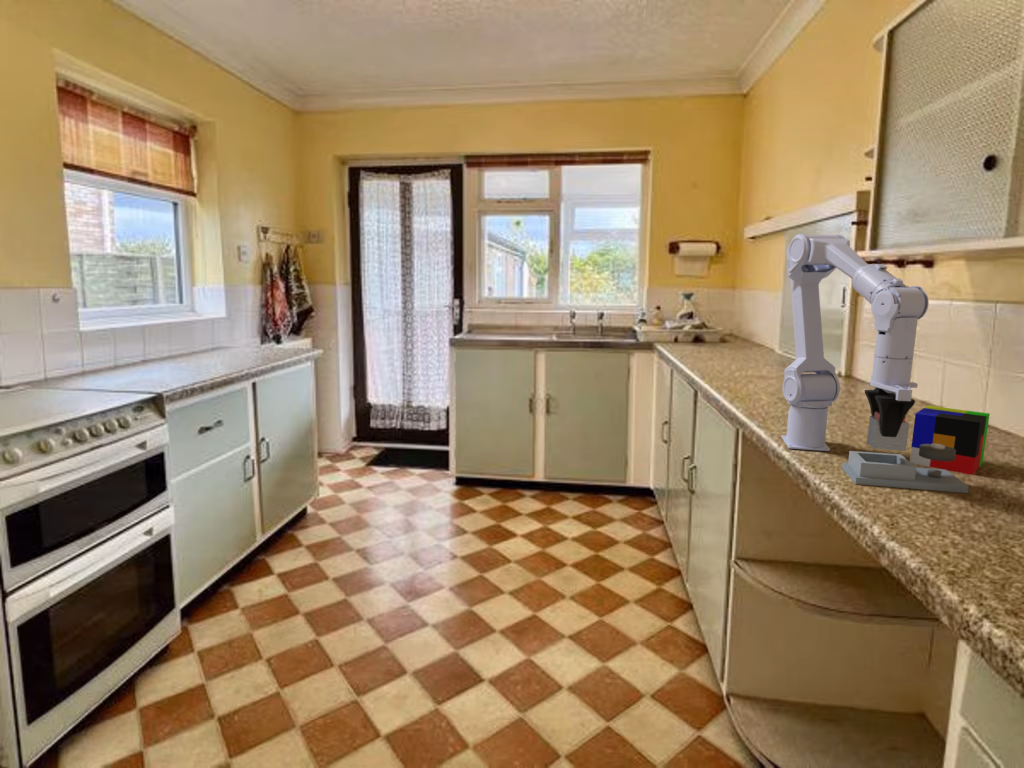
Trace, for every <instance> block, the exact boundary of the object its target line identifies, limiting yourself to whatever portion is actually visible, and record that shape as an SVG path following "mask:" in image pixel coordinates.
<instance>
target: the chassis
mask: <svg viewBox="0 0 1024 768" xmlns="http://www.w3.org/2000/svg"><path fill="white" fill-rule="evenodd" d="M841 469H842V470H843V472H844V473H845V474H846V475H847V476H848V477H849V478H850V479H851V481H852V482H853V483H854V484H855V485H863V486H874V487H887V488H899V489H900V488H901V489H912V490H924V491H925V490H927V491H936V492H937V491H938V492H950V493H963V494H969V488H970V486H969V485H968V484H966V483H965V482H963V481H962V480H961V479H959V478H958V477H956V476H955V475H954V474H953V473H951V471H950V472H949V470H944V469H938V468H927V467H926V468H925V467H917V466H916V464H912V463H911V462H910V460H909V459H907V458H906V457H905V456H903V454H900V453H898V454H897V453H888V452H887V453H885V452H873V451H854V450H849V452H848V461H847V462H844V461H843V462H842V464H841Z"/></svg>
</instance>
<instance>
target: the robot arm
mask: <svg viewBox="0 0 1024 768" xmlns="http://www.w3.org/2000/svg"><path fill="white" fill-rule="evenodd" d="M786 264H787V265H786V267H787V277H788V278H789V279H790V292H791V293H790V294H791V295H790V296H791V305H792V306H791V307H792V309H791V311H792V321H793V336H794V350H795V360H794V361H793V362H792V363H791V364H789V365H788V366H787V367H785V369H784V370H783V371H784V374H783V375H784V376H783V377H784V379H783V382H782V394H783V397H784V398H785V400H786V401H787V402H786V403H787V404H789V405H790V407H789V409H788V413H787V423H786V435H784V434H783V435H781V438H782V440H783V442H784V443H785V444H786V446H787V448H788V449H792V450H793V449H795V450H806V451H818V452H819V451H821V452H830V451H831V448H830V447H829V446H828V444H827V443H826V436H827V425H828V424H827V423H828V414H829V407H832V406H833V403H834V402H835V401H837V399H838V397H839V395H840V391H841V385H840V381H839V379H838V376H837V373H836V367H835V366H834V365H833V364H832V363H831V362H830V361H829V360H827V359H826V358H825V356H824V353H825V352H824V342H823V328H822V315H821V312H822V311H821V303H820V302H821V301H820V300H821V299H820V289H819V287H820V286H819V285H820V283H821V282H822V280H824V279H826V278H828V277H829V276H830V275H831V274H832V273H833V272H834V271H835V270H836V269H838V270H839V271H841V273H843V274H844V275H846V276H847V277H849V278H850V279H851V281H852V282H851V286H852V288H853V290H854V291H855V292H856V293H858V294H859V295H860V296H861V297H863V298H864V299H865V300H866V301H867V302H868V303H869V304H870V305H871V306H870V309H871V314H872V316H873V319H874V324H873V327H874V328H875V330H876V337H875V345H874V346H875V347H874V356H873V363H872V364H873V365H872V372H871V373H872V374H871V376H870V379H869V385H870V386H871V387H874V388H873V389H864V394H865V396H866V399H867V400H868V401H867V402H868V404H869V407H870V413H871V415H870V416H874V415H875V411H877V412H880V422H881V434H882V436H884V437H896V436H897V434H898V432H899V429H900V427H901V424H902V422H903V420H904V418H905V416H906V415H908V413H909V411H910V410H911V409H912V408H913V407H914V405H915V404H916V400H915V399H914V398H912V397H913V396H912V395H913V389H914V388H918V383H917V382H914V381H911V378H912V369H913V361H914V353H915V346H916V345H915V343H916V335H917V327H918V320H920V319H922V318H923V317H924V316H925V315H926V313H927V312H928V308H929V305H930V304H929V303H930V302H929V296H928V295H927V293H926V291H925V290H924V289H923V287H922V286H919V285H915V286H914V285H911V286H909V285H906V284H905V283H904V281H903V279H901V278H898V277H896V276H894V275H893V274H892V273H890V272H889V271H888V270H887V269H888V266H886V265H885V264H883V263H871V264H870V263H869V264H868V263H867V261H865V260H864V259H863V258H862V257H861V256H860V255H859V254H858V253H857V252H856V251H855V250H854V249H853V248H852V247H851V241H850V239H847V238H846V237H845V236H844V235H842V234H832V235H831V234H827V235H826V234H802V233H798V234H796V235H795V236H793V238H792V239H791V241H790V243H789V245H788V247H787V249H786ZM912 388H913V389H912ZM906 417H907V416H906Z"/></svg>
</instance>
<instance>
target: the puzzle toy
mask: <svg viewBox="0 0 1024 768" xmlns="http://www.w3.org/2000/svg"><path fill="white" fill-rule="evenodd" d="M989 420H990V413H989V412H988V413H987V412H981V411H973V410H964V409H957V408H950V407H944V406H943V407H942V406H934V405H927V406H925V407H924V408H921V409H920V410H919V411H917V412H916V413H914V422H913V423H914V424H913V430H912V431H913V432H912V438H911V439H912V440H911V449H910V455H909V461H910V462H911V463H912V464H914V465H918V466H924V467H929V468H932V469H942V470H947V471H948V472H949V471H950V472H954V473H959V474H960V473H961V474H965V475H971V476H973V475H974V474H975V473H976V472H977V471H978V470H979V469H980V467H981V466H982V465H983V461H984V456H985V451H986V450H985V448H986V443H987V435H988V430H989V429H988V427H989ZM921 444H941V445H944V446H948V447H951V448H954V449H955V450H956V455H955V460H954V461H936V460H931V459H927V458H923V457H921V456H919V448H920V445H921Z"/></svg>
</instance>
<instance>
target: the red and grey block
mask: <svg viewBox="0 0 1024 768" xmlns="http://www.w3.org/2000/svg"><path fill="white" fill-rule="evenodd" d="M906 417H907V416H905V418H904V420H903V422H902V424H901V427H900V429H899V432H898V434H897V436H896V437H884V436H882V434H881V422H880V412H877V411H875V415H874V416H872V415H870V416H869V422H868V429H867V431H868V432H867V438H866V444H868V445H869V446H870V447H871V448H872V449H874V450H875V449H876V450H878V449H879V450H885V451H886V450H889V451H901V452H907V445H908V437H909V431H910V430H909V429H910V422H908V421H907V420H906Z"/></svg>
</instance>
